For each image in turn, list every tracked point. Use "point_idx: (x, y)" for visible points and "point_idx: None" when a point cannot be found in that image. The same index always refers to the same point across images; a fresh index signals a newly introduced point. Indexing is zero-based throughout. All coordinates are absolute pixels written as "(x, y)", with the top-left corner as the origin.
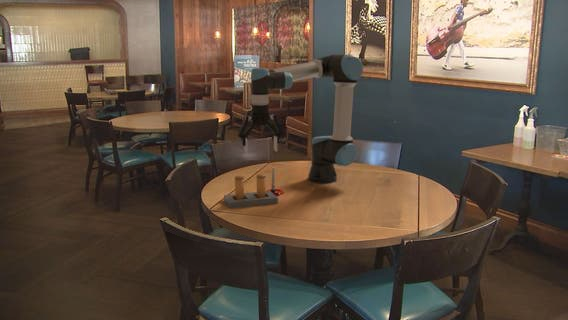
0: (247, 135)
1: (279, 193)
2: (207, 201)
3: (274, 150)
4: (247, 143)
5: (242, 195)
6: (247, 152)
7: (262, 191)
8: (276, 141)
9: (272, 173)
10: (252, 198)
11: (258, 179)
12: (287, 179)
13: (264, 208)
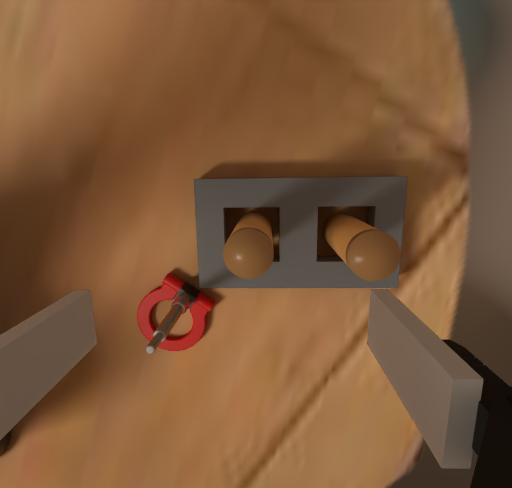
0: (487, 429)
1: (165, 276)
2: (452, 287)
3: (93, 327)
4: (416, 339)
5: (341, 219)
6: (376, 292)
7: (251, 217)
8: (4, 339)
9: (164, 331)
10: (299, 204)
11: (267, 234)
12: (88, 459)
13: (267, 129)
